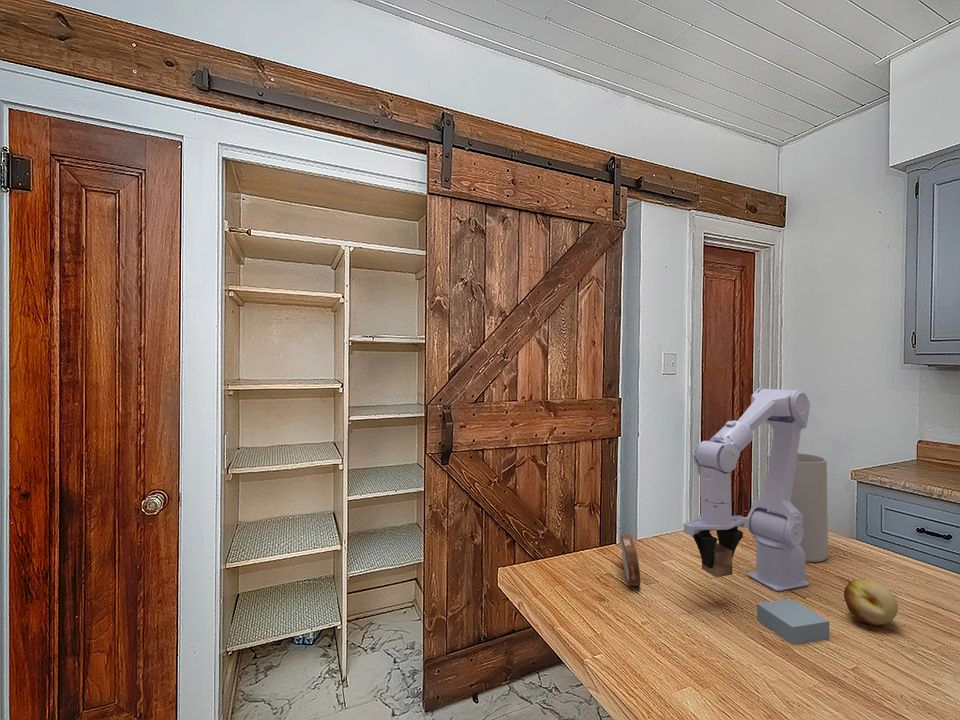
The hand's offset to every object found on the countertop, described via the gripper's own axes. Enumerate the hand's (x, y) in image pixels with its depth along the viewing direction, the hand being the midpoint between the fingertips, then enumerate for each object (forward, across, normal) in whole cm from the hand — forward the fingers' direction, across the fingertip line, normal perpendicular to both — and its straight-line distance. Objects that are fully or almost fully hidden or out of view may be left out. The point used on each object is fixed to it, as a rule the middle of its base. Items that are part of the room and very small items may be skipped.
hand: (716, 564), depth 95 cm
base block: (+9, -7, +11) cm, 16 cm away
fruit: (+9, -23, +14) cm, 28 cm away
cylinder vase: (+9, -39, -14) cm, 42 cm away
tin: (+9, +10, -16) cm, 21 cm away
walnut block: (+2, 0, 0) cm, 2 cm away
